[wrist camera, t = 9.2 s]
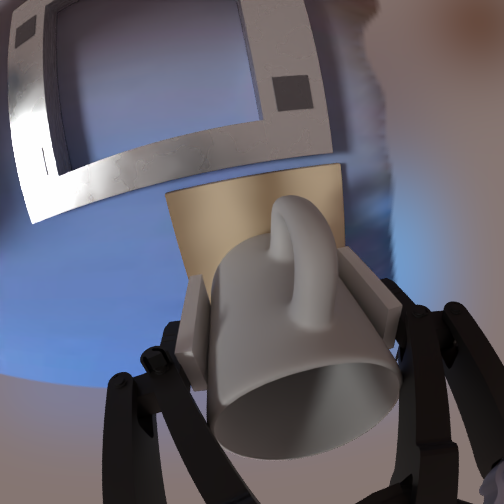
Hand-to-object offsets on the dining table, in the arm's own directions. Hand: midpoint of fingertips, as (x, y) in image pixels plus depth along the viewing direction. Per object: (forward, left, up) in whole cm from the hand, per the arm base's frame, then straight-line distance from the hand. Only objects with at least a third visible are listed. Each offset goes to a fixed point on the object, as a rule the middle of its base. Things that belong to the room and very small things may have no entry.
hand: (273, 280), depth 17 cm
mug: (0, 0, -2) cm, 2 cm away
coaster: (0, 0, -4) cm, 4 cm away
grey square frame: (-6, +17, -4) cm, 18 cm away
